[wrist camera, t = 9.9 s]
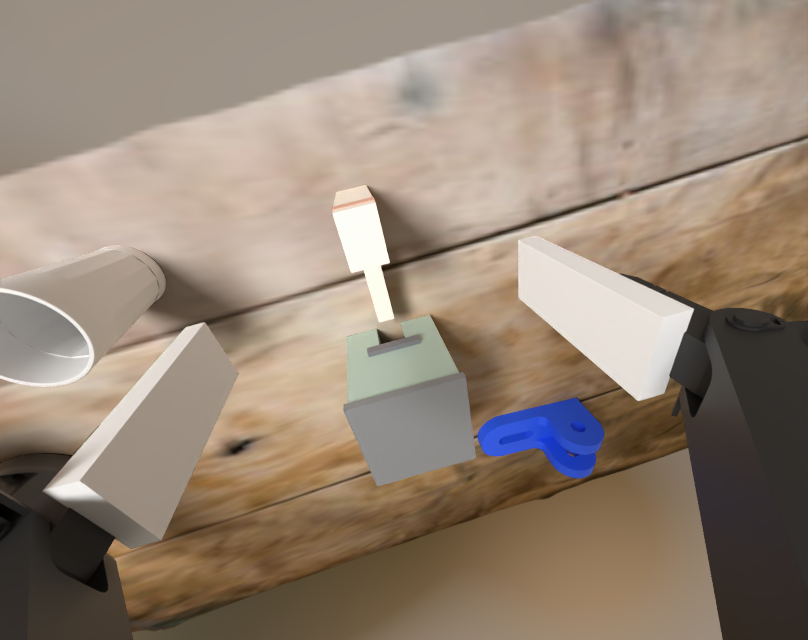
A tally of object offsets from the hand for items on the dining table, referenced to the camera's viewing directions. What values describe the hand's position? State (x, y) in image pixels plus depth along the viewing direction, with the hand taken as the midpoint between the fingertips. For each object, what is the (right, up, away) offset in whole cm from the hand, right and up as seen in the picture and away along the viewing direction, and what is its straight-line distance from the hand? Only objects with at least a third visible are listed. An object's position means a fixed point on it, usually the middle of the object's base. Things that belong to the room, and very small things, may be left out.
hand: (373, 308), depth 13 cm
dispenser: (0, -6, +29) cm, 30 cm away
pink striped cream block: (-3, +7, +21) cm, 22 cm away
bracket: (+23, -19, +41) cm, 51 cm away
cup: (-27, +4, +18) cm, 32 cm away
